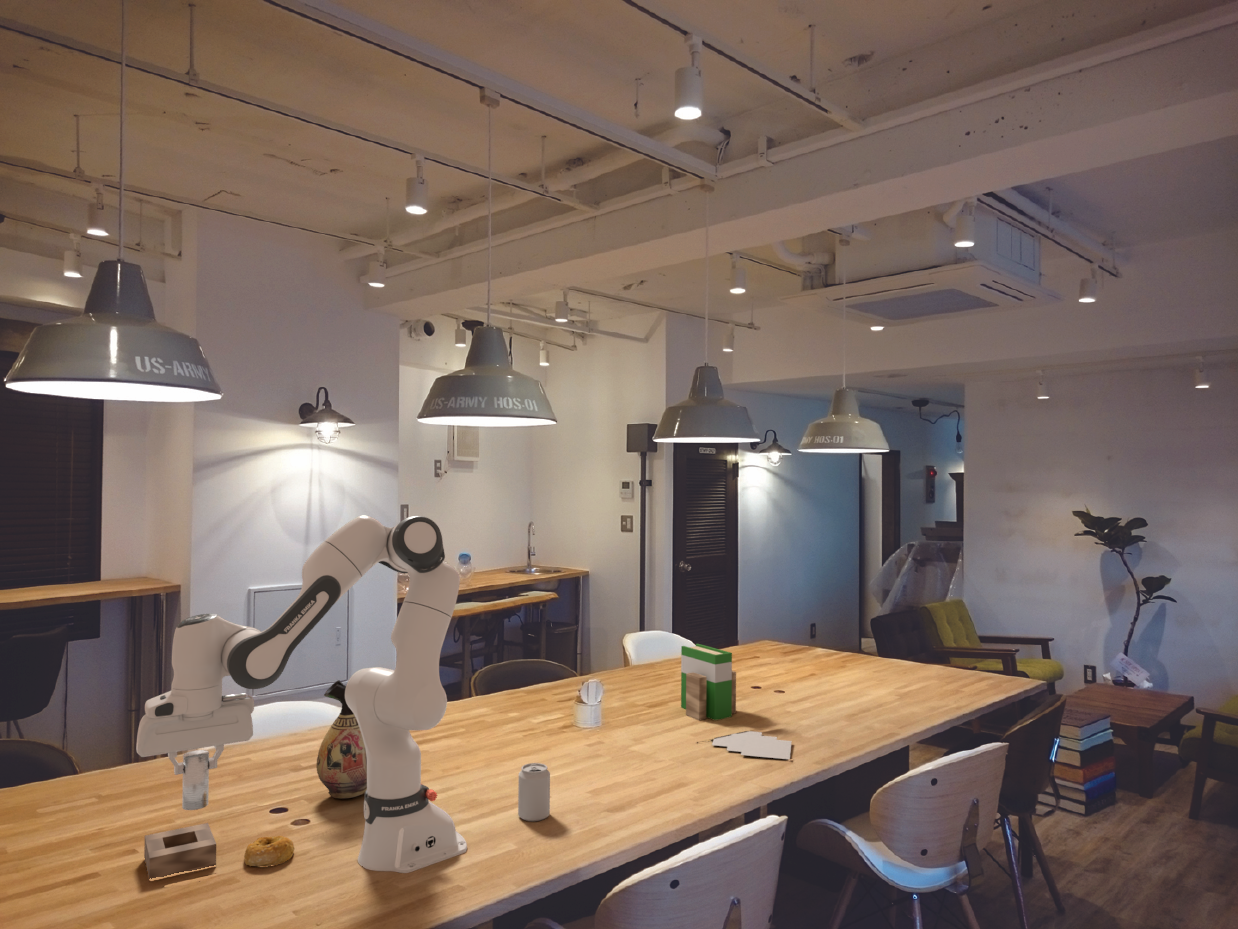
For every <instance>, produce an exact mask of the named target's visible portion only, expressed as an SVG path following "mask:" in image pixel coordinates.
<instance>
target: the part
mask: <svg viewBox="0 0 1238 929" xmlns="http://www.w3.org/2000/svg"><path fill="white" fill-rule="evenodd" d="M209 758H210V751H208V750H206V749H205V750H203V749H195V750H191V751H190V750H189V751H188V752H187V751H186V752H184V753H183V755H182V762H183V764H184V769H183V770H184V773H183V774H182V800H181V801H182V807H181V808H182V809H183V810H184V811H195V810H196V811H197V810H201V809H203V808H206V807H208V805H209V791H210V790H209V789H210V788H209V782H210V781H209V779H210V777H209V775H210V773H209V772H210V769H209Z"/></svg>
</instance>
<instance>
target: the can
mask: <svg viewBox="0 0 1238 929" xmlns="http://www.w3.org/2000/svg"><path fill="white" fill-rule="evenodd" d="M517 791H518V794H517V795H518V796H517V797H518V799H517V800H518V802H517V807H518V808H517V813H518V814H517V816H518V817H519V818H521V819H522V820H523V821H526V822H539V821H543V820H546V819H547V818H548V817H549V816H550V812H551V811H550V810H551V808H550V806H551V805H550V803H551V800H550V799H551V772H550V771H549V770H548V765H546V764H545V763H541V762H540V763H539V762H531V763H529V762H528V763H526V764H524V765H522V766H521V770H520V771H519V772H518V790H517Z"/></svg>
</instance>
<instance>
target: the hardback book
mask: <svg viewBox="0 0 1238 929" xmlns="http://www.w3.org/2000/svg"><path fill="white" fill-rule="evenodd" d="M680 649H681V652H680V653H681V654H680V655H681V656H680V657H681V658H680V660H681V661H680V662H681V666H680V668H681V669H680V676H681V677H680V680H681V682H680V683H681V684H680V685H681V686H680V693H681V695H680V708H682V709H683V710H686V673H692V672H694V673H697V674H700V675H703V676H706V677H707V681H706V719H707V718H708V719H710V720H712V721H718V720H722V719H727V718H728V719H729V718H732V715H733V714H732V671H733V653H732V652H729V651H727V650H724V649H723V650H722V649H718V648H715V647H712V646H708V645H704V644H699V643H695V646H691V647H689V646H686V645H681V648H680Z"/></svg>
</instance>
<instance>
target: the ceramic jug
mask: <svg viewBox="0 0 1238 929" xmlns="http://www.w3.org/2000/svg"><path fill="white" fill-rule="evenodd" d="M345 689H346V685H344V683H343V682H342V681H341V680H340V679H339V680H338V679H337V680H336V681H335V682H334V683H333V684H332V685H331V686H330V687H328V689H326V691H325V692H324V695H323V696H324V697H326V698H328V699H329V698H330V699H333V700H336V701H338V702H340V704H341V709H340V712H339V714H338V716H337V717H336V718H335V720H334V721H333V723H332V724H331V726H330V727H329V729H328V731H326V733H325V735H324V737H323V739H322V741H321V743H320V746H319V750H318V754H317V758H316V772H317V775H318V779H319V780H320V782H321V783H322V785H323V786H324V787H326V788H327V790H328V794H329V796H330V797H332V798H335V799H351V798H355V797H359V796H361V795H363V794H365V791H366V790H367V758H366V750H365V745H364V741H363V738H362V734H361V731H360V728H359V725H358V722H357V719H356V717H355V715H354V714H353V712H352V711H351V709H350V708H349V707H348V705H347V703H346V700H345Z"/></svg>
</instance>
